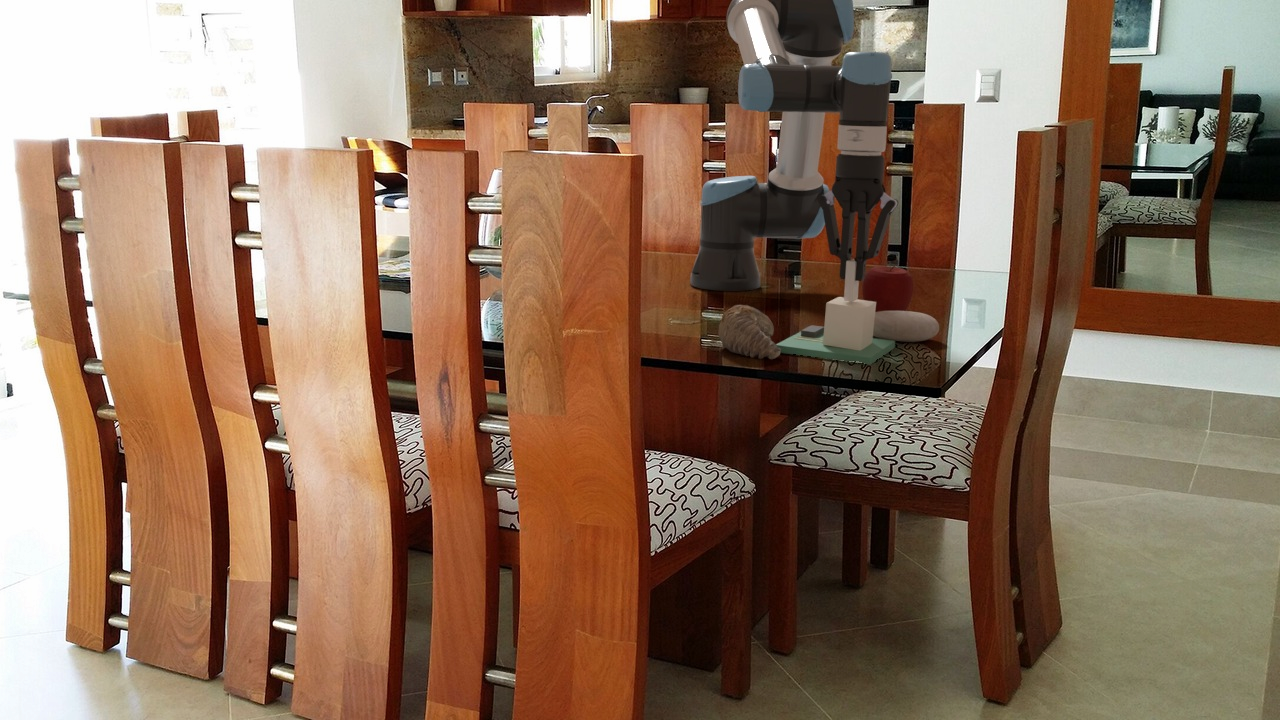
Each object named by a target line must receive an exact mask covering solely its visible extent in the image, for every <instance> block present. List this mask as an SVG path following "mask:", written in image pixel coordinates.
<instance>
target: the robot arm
mask: <svg viewBox="0 0 1280 720" xmlns="http://www.w3.org/2000/svg"><path fill="white" fill-rule="evenodd" d="M854 11H855V10H854V3H853V0H731V2H730V4H729V6H728V9H727V12H726V26H727V30H728V33H729V36H730V37H731V39H732V40H733V41H734V42H735V43H736V44H738V45H737V46H738V47H739V49H738V50H739V52H740V56H741V58H742V62H743V65H742V67H741V68H740V70H739V75H738V83H737V84H738V86H737V87H738V89H737V94H738V95H737V96H738V103H739V107H741V109H743V110H745V111H755V112H759V113H766V112H767V113H768V112H774V113H775V112H777V113H778V112H782V115H781V122H780V123H781V124H780V125H781V126H780V133H779V142H778V144H779V145H778V151H777V152H778V153H777V160H776V161H777V162H776V167H775V168H774V169H773V170H771V171H770V172H769V173H768V178H767V179H768V180H767V182H759V181H758V179H757V177H756V176H754V175H736V176H728V177H720V178H715V179H711V180H707V181H706V182H705V183H704V184H703V186H702V189H701V200H700V202H699V204H700V206H701V209H700V226H699V227H700V232H699V249H698V252H697V256H696V258H695V262H694V265H693V266H692V270H691V272H690V279H689V281H690V286H692V287H694V288H698V289H704V290H710V291H719V292H722V291H723V292H725V291H726V292H739V291H740V292H741V291H742V292H743V291H751V290H757V289H759V288H760V287H761V274H760V270H759V266H758V263H757V259H756V255H755V251H754V248H755V247H754V246H755V245H754V244H755V238H756V239H757V238H761V239H762V238H765V239H766V238H768V239H770V238H771V239H795V240H801V239H812V238H813V239H814V238H816V237H817V236H819V234H821V233H822V231H823V229H824V227H825V231H826V238H827V242H828V243H827V244H828V250H829V254H830V255H832V256H835V257H837V258H839V260H840V268H839V278H840V280H844V292H843V293H844V294H843V297H844V301H852V302H853V301H855V300H857V299H859V286H860V285H859V284H860V282H863V280H864V278H865V275H866V269H867V261H868V260H869V259H873V258H876V257H878V255H879V253H880V250H881V248H882V243H883V241H884V237H885V234H886V232H887V228H888V226H889V222H890V219H891V216H892V214H893V212H894V211H895V210H896V208H897V207H898V205H899V200H898V199H897V198H892V197H891V196H890V195H888V194H887V193H886V188H885V185H884V174H885V173H884V172H885V159H886V157H884V155H883V154H882V153H883V152H885V151H886V146H887V132H888V130H887V129H888V118H889V117H888V116H889V106H890V105H889V102H890V91H891V81H892V78H893V73H892V57H891V56H890V54H889V53H886V52H879V51H878V52H876V51H875V52H873V51H872V52H871V51H850V52H847V53H845V54H844V55H843V58H842V59H843V60H842V65H832V64H833V63H832V62H833V60H834V59H837V57H838V56H840V55H841V52H842V46H843V44H847V43H850V42H851V41H852V39H853V35H854V28H855V26H854V25H855V17H854V16H855V13H854ZM826 113H829V114H839V120H838V129H837V145H836V146H837V150H838V151H840V153H839V154H837V156H836V160H835V161H836V162H835V176H834V177H835V178H834V182H833V184H832V185H831V190H830V188H829V186H828V185H827V184H825V183H824V177H823V176H822V175H821V173H820V172H819V163H820V155H821V149H822V148H821V147H822V139H823V134H824V133H823V132H824V125H825V124H824V123H825V119H826V117H825V116H826ZM835 200H836V201H835ZM836 202H837V203H838V205H839V206H840V208H841V210H842V211H841V217H842V223H841V225H842V226H841V236H840V233H839V232H840V231H839V227H838V220H837V213H836V209H835V206H834V205H835V203H836ZM879 202H880V209H881V210H880V212H879V215H878V218H877V221H876V224H875V227H874V231H873V234H872V237H871V240H870V243H869V238H870V224H871V223H870V222H871V217H872V210H873V209H874V208H875V207H876V206H877V205H878V203H879ZM856 215H857V230H856V231H857V233H856V247H855V248H856V249H855V257H854V254H853V245H854V244H853V241H854V230H855V228H854V227H855V219H856ZM853 257H854V258H853Z"/></svg>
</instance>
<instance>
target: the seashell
mask: <svg viewBox="0 0 1280 720" xmlns="http://www.w3.org/2000/svg"><path fill="white" fill-rule="evenodd" d="M774 331H775V329H774V325H773V322H772V321H771V319H770V318H769V316H768V315H766V314H764V313H763V312H762V311H761V310H759V309H757V308H755V307H753V306H751V305H748V304H735V305H733V306H732V307H731V308H729V309H727V310H726V311H724V313H723V314H722V315H721V321H720V323H719V325H718V331H717V333H718V334H717V335H718V339H719V340H720V342H721V343H722V345H723V346H724V347H725V348H726V349H727V350H728V351H729V352H730V353H733V354H737V355H741V356H745V357H749V356H750V358H752V359H754V358H755V357H757V359H759V360H763V359H764V358H767V359H768V360H774V359H776V358H778V357H779V356H780V355H781V353H780V352H781V349H780V348H779V347H777V346H776V343H775V342H774V340H773V341H772V338H771V337H773V336H774Z"/></svg>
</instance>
